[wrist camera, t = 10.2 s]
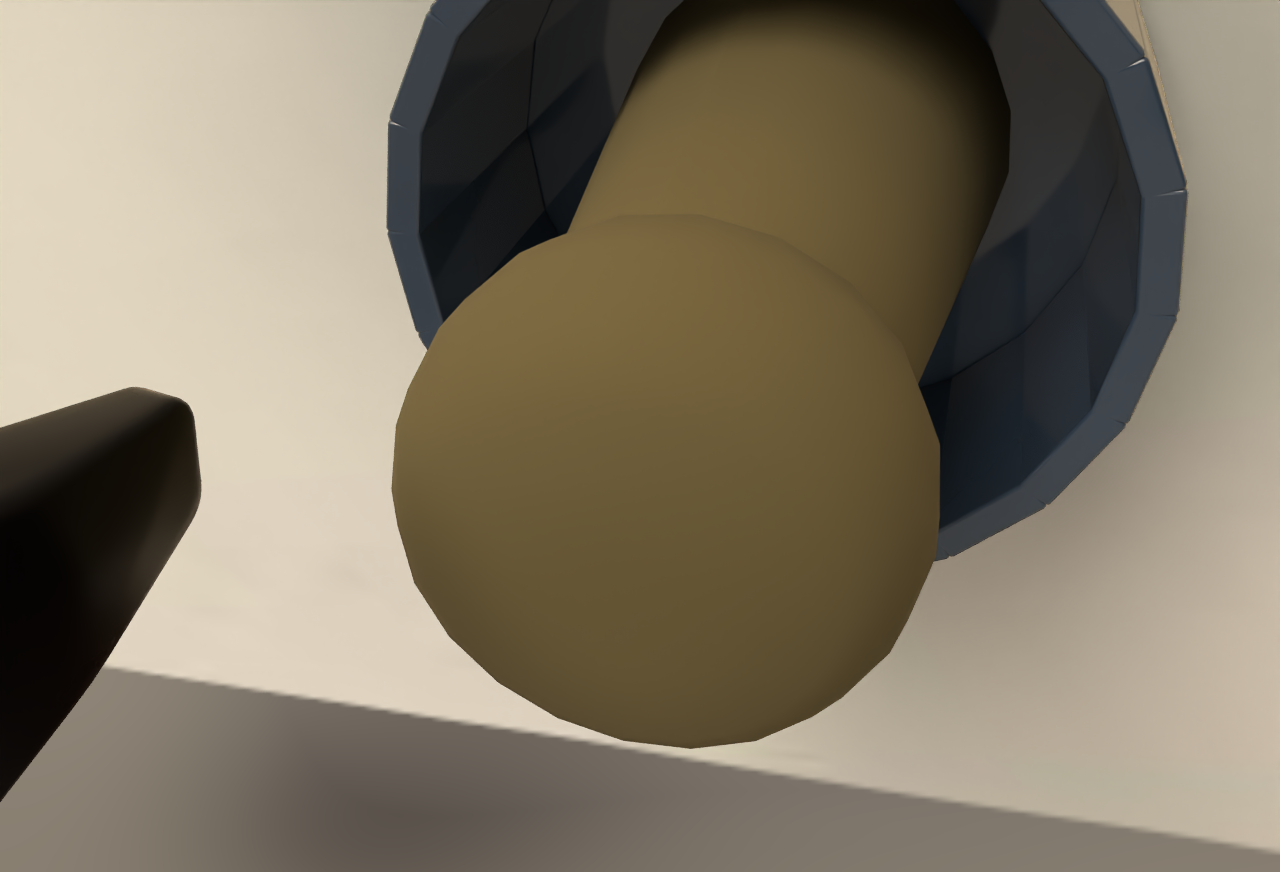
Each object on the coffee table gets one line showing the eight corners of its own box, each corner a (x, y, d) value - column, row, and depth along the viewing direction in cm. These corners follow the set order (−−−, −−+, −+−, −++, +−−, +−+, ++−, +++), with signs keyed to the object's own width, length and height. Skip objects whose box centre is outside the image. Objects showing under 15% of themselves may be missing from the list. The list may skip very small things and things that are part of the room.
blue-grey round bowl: (1276, -140, 16) (1355, -56, 12) (1023, 468, 22) (1019, 659, 18) (542, -283, 17) (392, -252, 13) (494, 325, 23) (381, 472, 19)
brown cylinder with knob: (972, 344, 20) (918, 910, 11) (623, 291, 21) (330, 764, 13) (1051, -36, 17) (1059, 356, 8) (630, -73, 18) (234, 229, 9)
